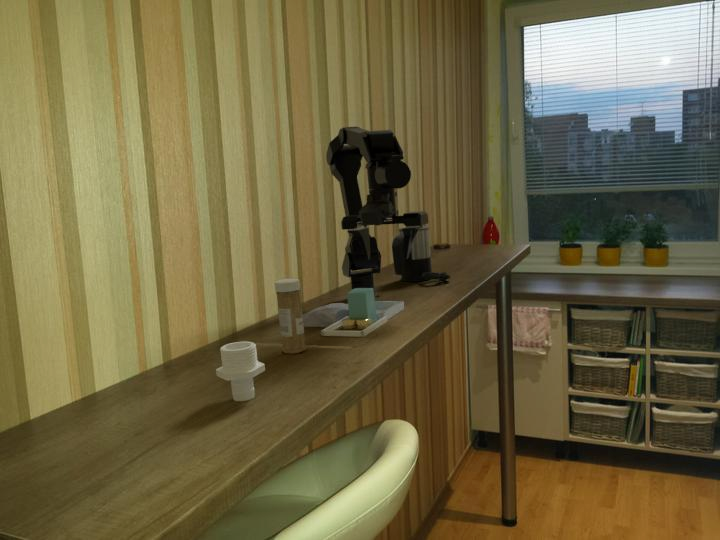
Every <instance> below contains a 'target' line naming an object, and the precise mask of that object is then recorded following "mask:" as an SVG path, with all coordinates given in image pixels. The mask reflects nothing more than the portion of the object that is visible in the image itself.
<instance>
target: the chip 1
mask: <svg viewBox="0 0 720 540" xmlns="http://www.w3.org/2000/svg"><path fill="white" fill-rule="evenodd" d="M356 320H357V318H345V319H343V320H342V323H343V325H342V329H344V330H351V329H352V330H353V329H357V324H356Z"/></svg>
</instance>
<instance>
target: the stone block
mask: <svg viewBox="0 0 720 540" xmlns="http://www.w3.org/2000/svg"><path fill="white" fill-rule="evenodd" d="M346 316H349V308H348V303H343V302H335V303H329V304H326V305H321V306H317V307H316V308H314V309H312V310H310V311H308V312H306V313H302V317H303V325H304V328H309V327H310V328H313V327H315V328H327V327H329V326H330V325H332V324H334V323H336V322H338V321H339V320H341V319H343V318H345V317H346Z"/></svg>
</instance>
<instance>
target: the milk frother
mask: <svg viewBox="0 0 720 540" xmlns="http://www.w3.org/2000/svg"><path fill="white" fill-rule="evenodd" d="M402 228H403V227H402ZM402 228H397V230H398V233H399V235H396V236H395V237H394V238H393V240H392V241H391V242H392V243H391V252H392V261H393V267H394V268H393V269H394V274H395V275H396V276H401V277H400V280H401V281H403V282H422V281H429V280H439V282H440V281H445V282H446V281H447V280H449V279H451V275H449V274H447V272H446V271H445V272H444V271H443V272H433V269H432V260H431V259H432V258H431V243H430V242H431V241H430V228H431V227H430V226H426V225H425V226H424V225H423V228H420V229H419V230H418V232H417V234H416V236H415V239H414V241H413V245H412V248H411V251H410V254H409V257H408V259H405V254H404V234H403V231H402Z"/></svg>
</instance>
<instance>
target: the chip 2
mask: <svg viewBox="0 0 720 540" xmlns="http://www.w3.org/2000/svg"><path fill="white" fill-rule="evenodd" d="M356 324H357V328H356V329H357V330H364V329H366V328H367V327H369V326H370V325H372V324H371V318H360V319H357V320H356Z"/></svg>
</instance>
